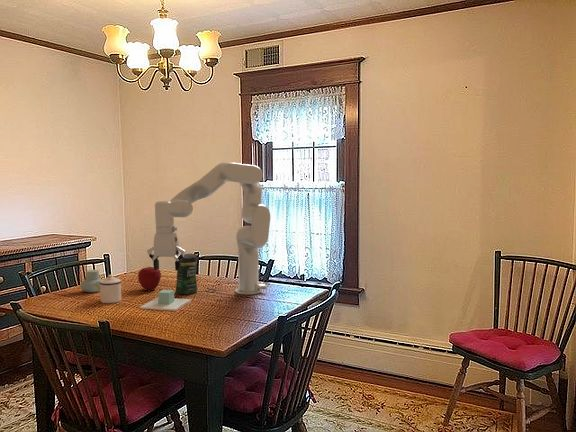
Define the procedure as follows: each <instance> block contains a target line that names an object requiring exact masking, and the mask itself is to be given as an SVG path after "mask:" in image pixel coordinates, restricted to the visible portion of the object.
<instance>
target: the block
mask: <svg viewBox="0 0 576 432" xmlns="http://www.w3.org/2000/svg"><path fill="white" fill-rule="evenodd" d="M157 297H158V304H171V303H173V302H174V298H175V290H173V289H162V290H160V291H158V293H157Z"/></svg>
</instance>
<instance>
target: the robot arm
mask: <svg viewBox="0 0 576 432" xmlns="http://www.w3.org/2000/svg"><path fill="white" fill-rule="evenodd" d="M263 174H264V173H263V170H262V169H261V168H260V167H259V166H257V165H253V164H246V163H243V164H242V163H238V162H221V163H217V165H216V166H214V167H213V168H212V169H211V170H209V171H208V172H206V174H204V175H203V176H202V177H201V178H199V179H198V180H197V181H195V182H193V183H192V184H190V185H189V186H187V187H185V188H184V189H182V190H181V191H179V192H178V193H177V194H176V195H175V196H173V197H172V198H171V199H170V200H161V201H156V202H155V203H154V216H155V217H154V219H155V233H154V238H153V247H151V248H149V249H147V250H146V252H147V255H148V256H149V258H150V259H151V260H152V261H153V262H152V263H153V264H152V265H153V267H154V270H157V269H159V270H160V260H159V259H158V258H160V257H161V258H163V257H164V258H173V259H174V260H175V262H174V267H175V268H174V270H175V271H177V270H179V269H180V267H181V266H180V260H181V259H182V258H183V257H184V254H186V252H187V251H186V250H185V249H183V248H182V247H180V245H179V239H178V235H177V231H178V228H177V227H176V226H175V220H174V218H188V217H189V216H190V215H192V213H193V210H194V207H193V203H195V202H197V201H198V200H202V199H205V198H208V197H211V196H212V195H213V194H214V193H216V192H217V191H218V190H219V189H220V188H222V186H224V185H225V184H227V183H228V182H231V183H239V184H240V187H242V191H243V199H242V207H241V208H242V209H241V218H242V221H244V222H245V223H247V224H251V225H244V226H241V227H240V228H238V229H237V232H236V235H235V236H236V237H235V238H236V244H237V255H238V256H237V257H238V265H237V267H238V268H237V269H238V272H237V273H238V279H237V280H238V287H237V288H235V289H234V290H235V291H234V292H235V293H236V294H238V295H249V296H250V295H257V294H258V295H259V294H260V293H262V290H267V289H268V285H266V284H261V281H259V250H258V249H262V248H263V247H265V246H266V244H267V243H268V239H269V234H270V225H271V212H270V209H269V207H268V206H266V205H264V204H262V195H263V194H262V188H261V185H260V182H261V181H262V178H263ZM175 231H176V232H175ZM179 255H180V256H179Z"/></svg>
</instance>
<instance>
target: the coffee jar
mask: <svg viewBox="0 0 576 432" xmlns="http://www.w3.org/2000/svg"><path fill="white" fill-rule="evenodd" d="M178 255H179V256H180V255H181V254H178ZM197 264H198V259H197V254H194V253H185V254H184V257H183V258H182V259H181V260H180V266H181V267H180V269H179V270H177V272H176V284H175V293H177V294H178V295H189V294H190V295H191V294H195V293H197V292H198V283H197V282H198V281H197V272H196V271H197Z"/></svg>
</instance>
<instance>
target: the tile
mask: <svg viewBox="0 0 576 432" xmlns="http://www.w3.org/2000/svg"><path fill="white" fill-rule="evenodd" d="M190 302H192V299H191V298H188V299H187V298H175V297H174V302H173V303H171V304H158V296H157V297H155V298H154V299H152V300H150V301H148V302H147V303H144V304H143V305H140V306H139V309H141V310H154V311H155V310H156V311H157V310H158V311H171V312H176V311H178V310H180V309H181V308H183V307H184V306H186V305H187V304H189V303H190Z"/></svg>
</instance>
